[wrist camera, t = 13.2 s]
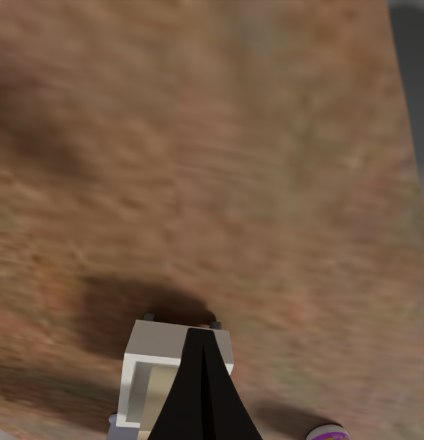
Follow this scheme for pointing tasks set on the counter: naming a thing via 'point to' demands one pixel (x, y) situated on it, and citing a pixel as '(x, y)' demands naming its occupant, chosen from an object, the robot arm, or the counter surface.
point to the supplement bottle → (328, 433)
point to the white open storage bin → (155, 361)
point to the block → (155, 398)
